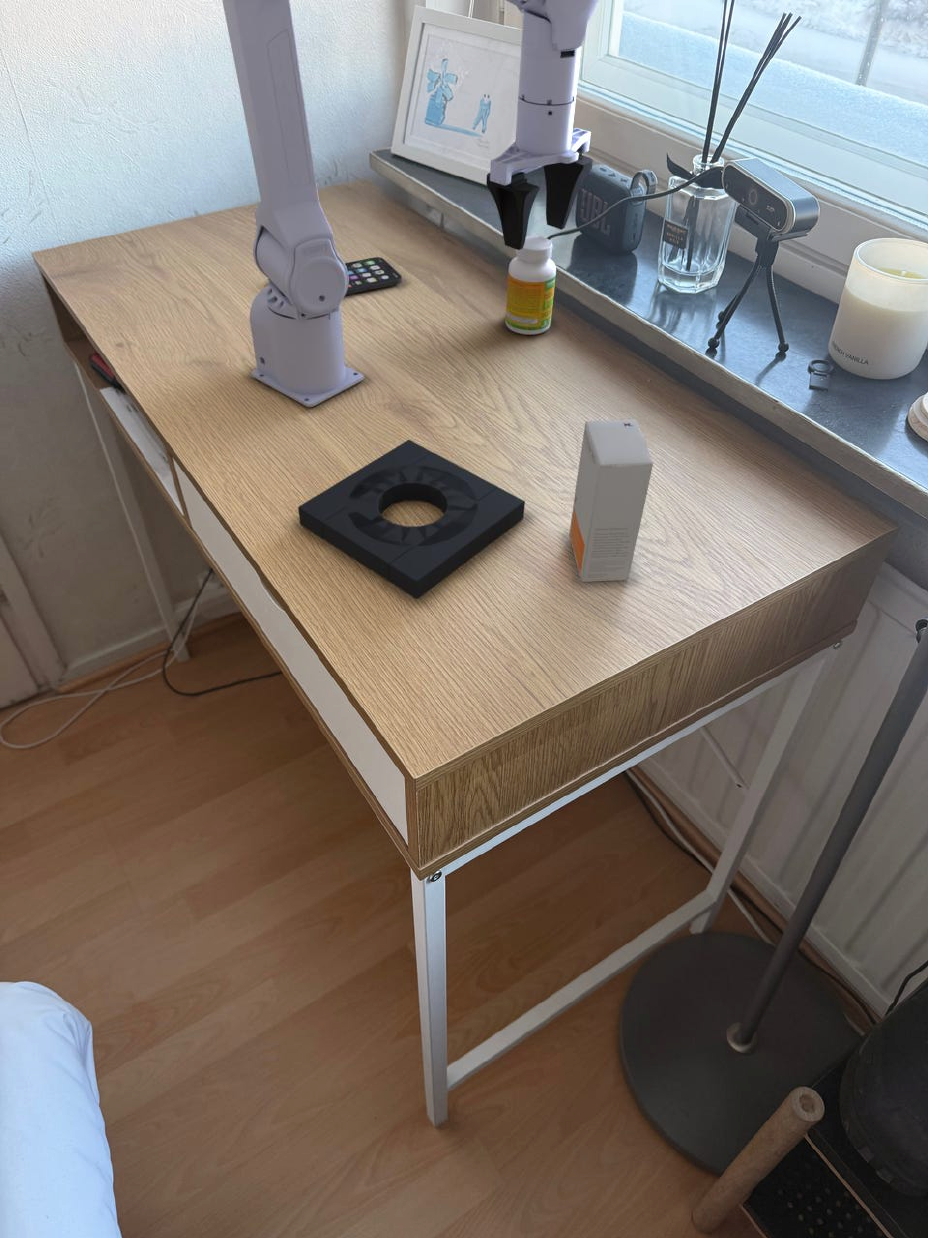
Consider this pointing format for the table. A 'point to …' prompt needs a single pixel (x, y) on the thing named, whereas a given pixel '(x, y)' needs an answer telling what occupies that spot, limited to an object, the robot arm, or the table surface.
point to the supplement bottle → (531, 287)
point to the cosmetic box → (609, 499)
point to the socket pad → (418, 550)
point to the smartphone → (370, 275)
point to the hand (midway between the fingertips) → (535, 236)
